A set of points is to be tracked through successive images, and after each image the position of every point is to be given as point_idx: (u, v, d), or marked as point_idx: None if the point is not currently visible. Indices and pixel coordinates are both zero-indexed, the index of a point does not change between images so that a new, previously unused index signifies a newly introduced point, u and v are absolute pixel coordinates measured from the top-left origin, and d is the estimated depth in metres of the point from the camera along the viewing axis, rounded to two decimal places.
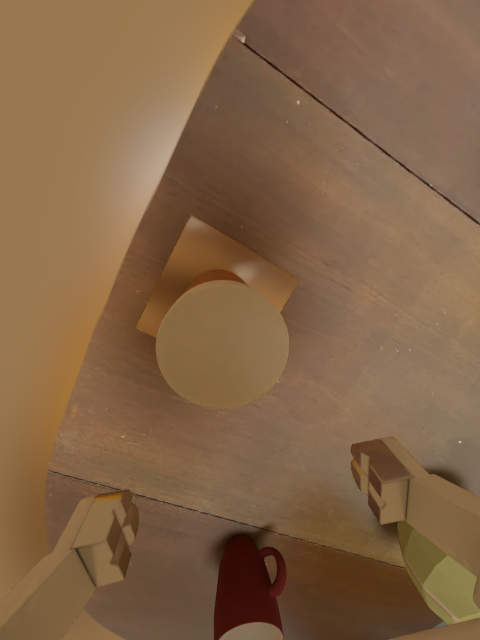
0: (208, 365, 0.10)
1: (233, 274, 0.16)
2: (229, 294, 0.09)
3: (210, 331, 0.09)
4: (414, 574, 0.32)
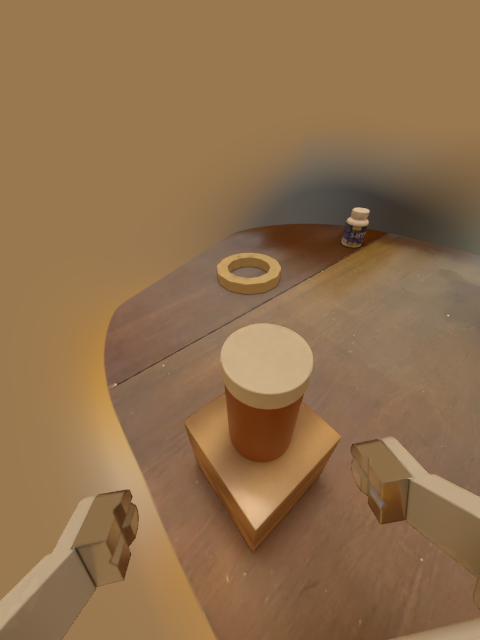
0: (273, 364, 0.13)
1: None
2: (231, 340, 0.15)
3: (249, 355, 0.14)
4: None
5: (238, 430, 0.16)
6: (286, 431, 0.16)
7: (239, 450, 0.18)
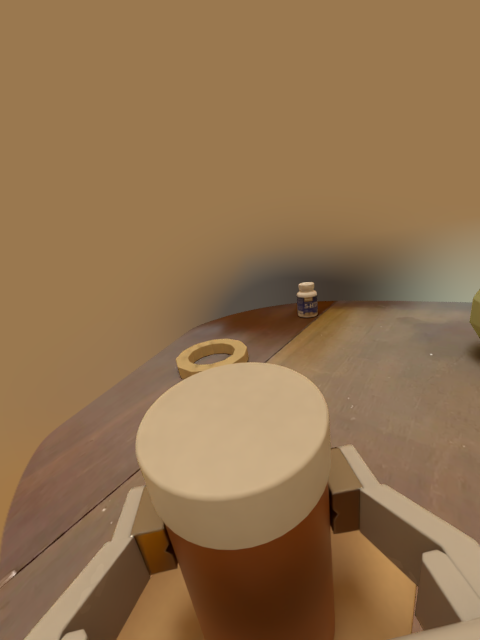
0: (247, 422, 0.06)
1: None
2: (163, 402, 0.08)
3: (197, 419, 0.07)
4: None
5: (213, 630, 0.07)
6: (321, 593, 0.07)
7: None
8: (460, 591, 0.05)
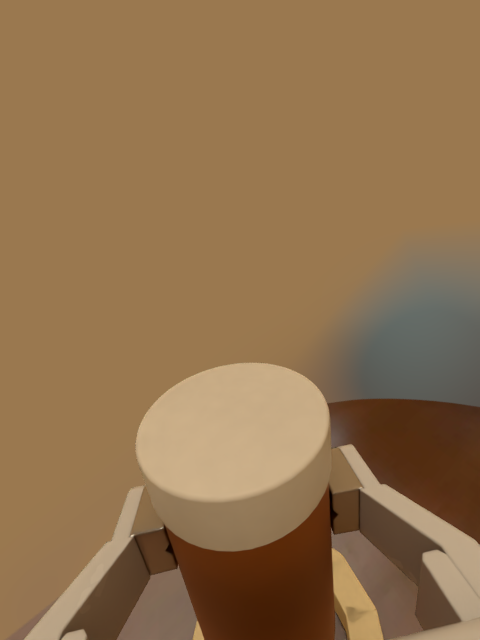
0: (248, 423, 0.06)
1: None
2: (163, 402, 0.08)
3: (197, 419, 0.07)
4: None
5: (213, 631, 0.07)
6: (322, 594, 0.07)
7: None
8: (460, 591, 0.05)
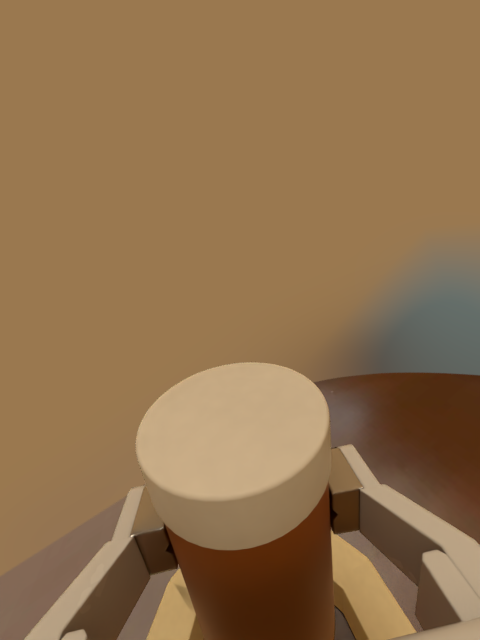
0: (248, 422, 0.06)
1: None
2: (163, 402, 0.08)
3: (197, 419, 0.07)
4: None
5: (213, 630, 0.07)
6: (322, 593, 0.07)
7: None
8: (460, 591, 0.05)
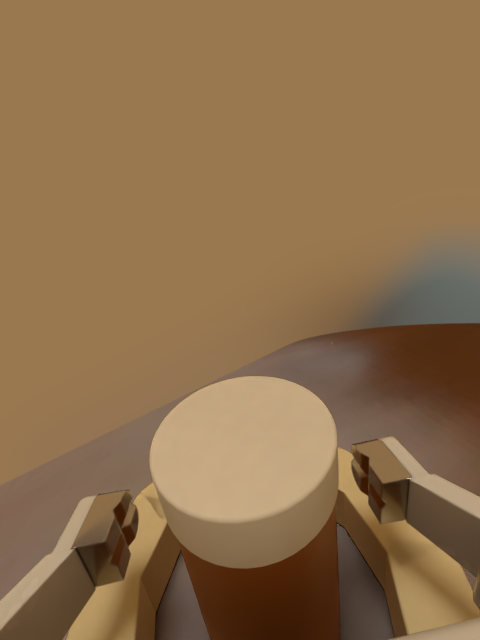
0: (258, 441, 0.06)
1: None
2: (173, 417, 0.08)
3: (208, 436, 0.07)
4: None
5: None
6: (329, 606, 0.07)
7: None
8: None
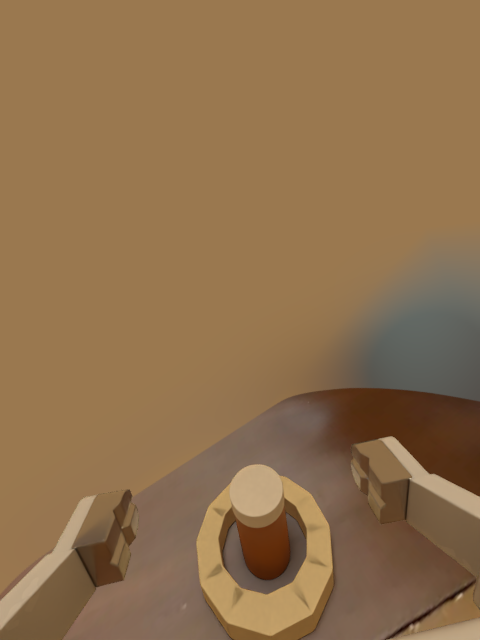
0: (261, 494, 0.23)
1: None
2: (233, 484, 0.24)
3: (246, 492, 0.23)
4: None
5: (251, 552, 0.23)
6: (282, 542, 0.23)
7: (255, 572, 0.24)
8: None
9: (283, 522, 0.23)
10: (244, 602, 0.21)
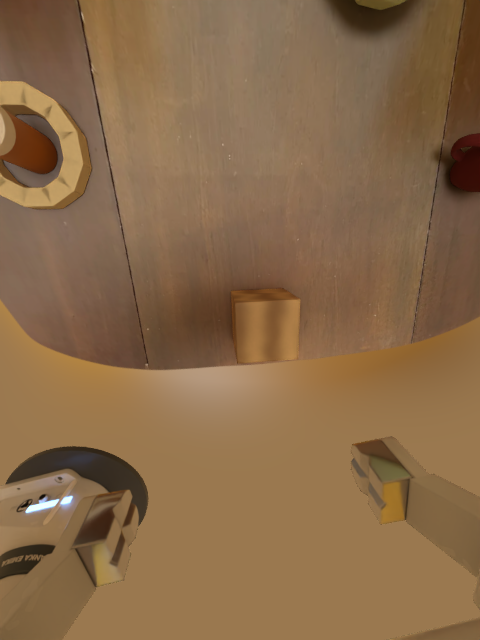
0: None
1: None
2: None
3: None
4: None
5: (36, 159, 0.30)
6: (31, 129, 0.29)
7: (51, 166, 0.33)
8: None
9: (14, 116, 0.27)
10: (66, 176, 0.32)
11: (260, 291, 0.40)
